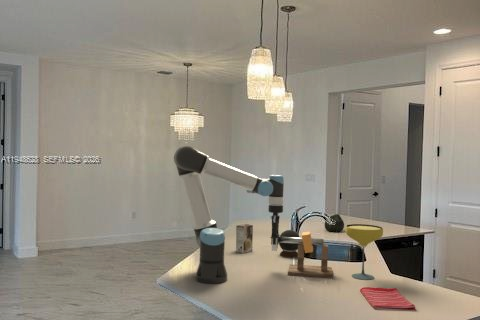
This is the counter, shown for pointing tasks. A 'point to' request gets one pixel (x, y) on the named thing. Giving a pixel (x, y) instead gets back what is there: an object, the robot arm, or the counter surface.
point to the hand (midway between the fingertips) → (274, 249)
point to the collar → (307, 242)
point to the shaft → (297, 240)
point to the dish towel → (386, 299)
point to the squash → (337, 226)
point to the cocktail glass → (363, 241)
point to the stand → (311, 270)
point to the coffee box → (244, 238)
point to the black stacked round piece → (289, 244)
